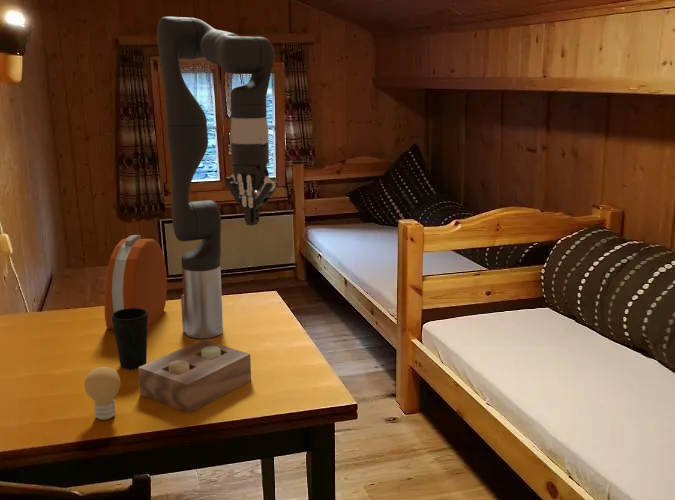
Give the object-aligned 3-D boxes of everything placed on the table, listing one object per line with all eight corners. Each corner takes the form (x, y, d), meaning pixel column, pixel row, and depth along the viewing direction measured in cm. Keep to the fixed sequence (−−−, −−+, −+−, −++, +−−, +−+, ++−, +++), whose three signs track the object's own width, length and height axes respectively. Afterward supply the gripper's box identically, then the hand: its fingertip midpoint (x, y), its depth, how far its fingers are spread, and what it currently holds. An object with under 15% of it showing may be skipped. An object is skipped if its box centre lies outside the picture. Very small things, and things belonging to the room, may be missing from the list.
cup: (157, 360, 161) (154, 310, 158) (138, 373, 154) (134, 321, 151) (129, 355, 163) (125, 306, 160) (108, 368, 156) (104, 317, 153)
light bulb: (92, 409, 138) (88, 361, 135) (126, 408, 138) (122, 360, 136) (84, 425, 132) (79, 376, 129) (119, 424, 132) (115, 375, 130)
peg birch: (166, 396, 143) (164, 365, 141) (181, 389, 146) (179, 358, 145) (180, 401, 141) (178, 370, 139) (194, 394, 144) (193, 363, 142)
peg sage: (198, 380, 150) (197, 350, 149) (212, 373, 154) (210, 344, 152) (212, 385, 148) (210, 355, 146) (225, 378, 151) (224, 349, 150)
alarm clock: (135, 305, 197) (129, 225, 191) (169, 306, 195) (164, 227, 190) (99, 334, 176) (91, 246, 170) (136, 336, 174) (130, 247, 168)
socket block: (140, 394, 144) (138, 367, 142) (204, 364, 158) (202, 339, 157) (188, 413, 136) (186, 384, 135) (251, 380, 151) (250, 354, 149)
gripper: (212, 139, 143) (216, 223, 147) (262, 144, 135) (264, 232, 140) (237, 136, 148) (240, 217, 153) (287, 140, 141) (288, 225, 146)
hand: (252, 224), depth 146 cm, fingers closed
